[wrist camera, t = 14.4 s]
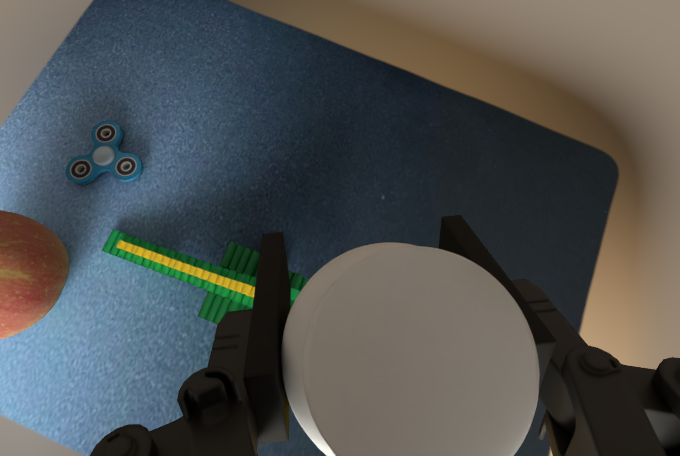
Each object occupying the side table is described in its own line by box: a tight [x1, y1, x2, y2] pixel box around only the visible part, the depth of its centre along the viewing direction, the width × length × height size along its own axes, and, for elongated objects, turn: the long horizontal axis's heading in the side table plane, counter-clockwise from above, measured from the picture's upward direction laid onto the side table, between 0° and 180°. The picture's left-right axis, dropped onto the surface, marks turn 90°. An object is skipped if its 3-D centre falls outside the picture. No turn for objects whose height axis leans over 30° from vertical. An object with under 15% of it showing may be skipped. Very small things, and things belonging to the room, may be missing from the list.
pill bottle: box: [281, 243, 540, 456], centre depth 13 cm, size 6×6×11 cm
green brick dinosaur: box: [102, 229, 309, 324], centre depth 27 cm, size 20×6×9 cm, turn 70°
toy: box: [66, 120, 143, 185], centre depth 33 cm, size 6×6×1 cm
